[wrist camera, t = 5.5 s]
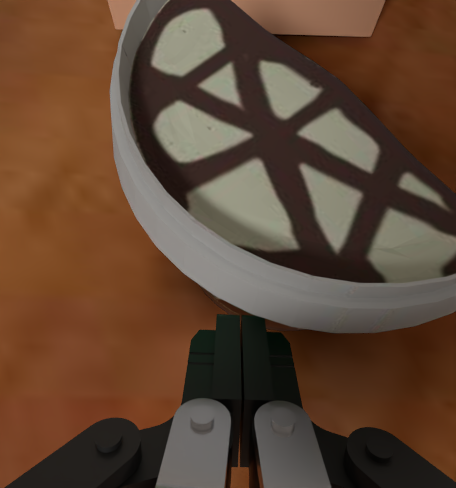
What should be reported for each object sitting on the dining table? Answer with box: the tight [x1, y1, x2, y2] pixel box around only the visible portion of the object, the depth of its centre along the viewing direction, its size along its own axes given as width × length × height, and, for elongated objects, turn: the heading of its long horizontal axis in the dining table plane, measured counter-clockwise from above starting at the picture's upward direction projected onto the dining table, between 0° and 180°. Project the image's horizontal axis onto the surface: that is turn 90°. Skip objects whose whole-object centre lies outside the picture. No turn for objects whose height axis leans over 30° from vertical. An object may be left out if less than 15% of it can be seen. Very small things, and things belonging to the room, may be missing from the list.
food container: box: [110, 0, 456, 333], centre depth 14 cm, size 12×6×10 cm, turn 40°
